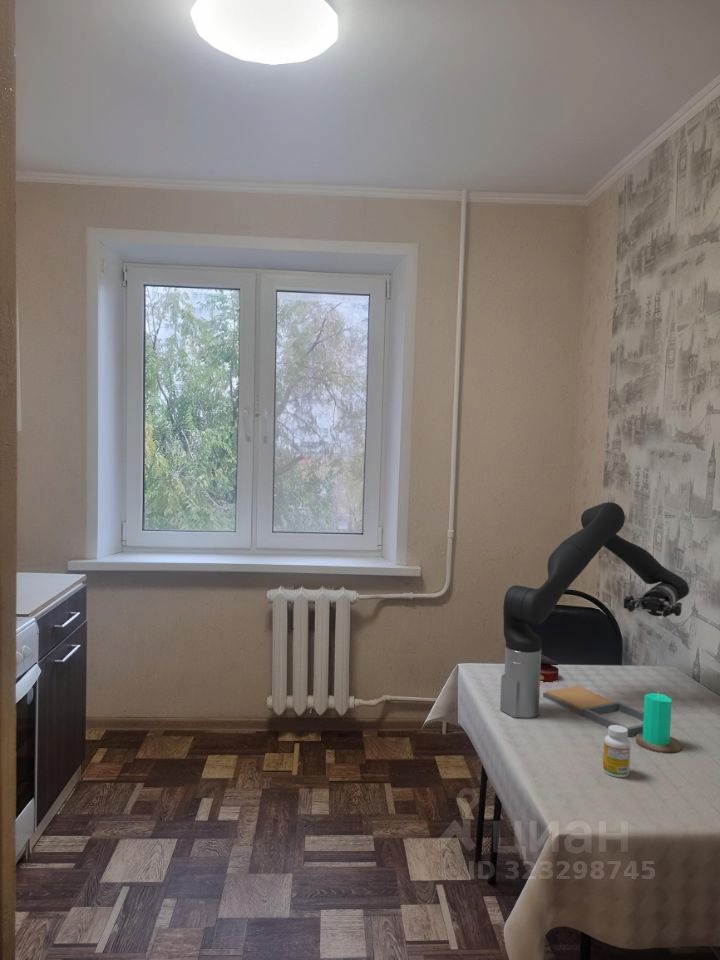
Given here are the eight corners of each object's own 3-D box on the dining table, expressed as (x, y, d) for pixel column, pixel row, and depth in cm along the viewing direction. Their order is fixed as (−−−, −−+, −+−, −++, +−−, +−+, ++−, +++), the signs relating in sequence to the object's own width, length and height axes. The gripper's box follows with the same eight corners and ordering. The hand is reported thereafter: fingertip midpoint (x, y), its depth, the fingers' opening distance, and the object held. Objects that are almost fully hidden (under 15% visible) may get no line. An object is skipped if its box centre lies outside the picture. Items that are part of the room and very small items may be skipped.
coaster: (661, 756, 162) (661, 752, 162) (626, 739, 171) (626, 736, 171) (690, 748, 167) (690, 745, 167) (655, 732, 176) (655, 729, 176)
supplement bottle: (608, 764, 157) (610, 721, 157) (632, 771, 154) (634, 728, 153) (599, 772, 153) (601, 728, 153) (624, 780, 150) (626, 735, 149)
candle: (652, 746, 166) (655, 695, 165) (637, 735, 171) (639, 687, 171) (675, 744, 167) (677, 694, 166) (658, 734, 173) (661, 685, 172)
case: (627, 737, 173) (628, 729, 172) (543, 696, 199) (543, 690, 199) (664, 728, 179) (664, 721, 178) (577, 690, 205) (577, 684, 205)
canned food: (523, 690, 218) (514, 658, 221) (551, 684, 221) (541, 652, 225) (541, 684, 208) (530, 650, 212) (570, 678, 211) (559, 645, 215)
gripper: (633, 583, 204) (620, 592, 190) (687, 590, 196) (677, 600, 182) (632, 609, 204) (618, 620, 191) (685, 617, 196) (675, 629, 183)
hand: (647, 610), depth 187 cm, fingers open, 8 cm apart
